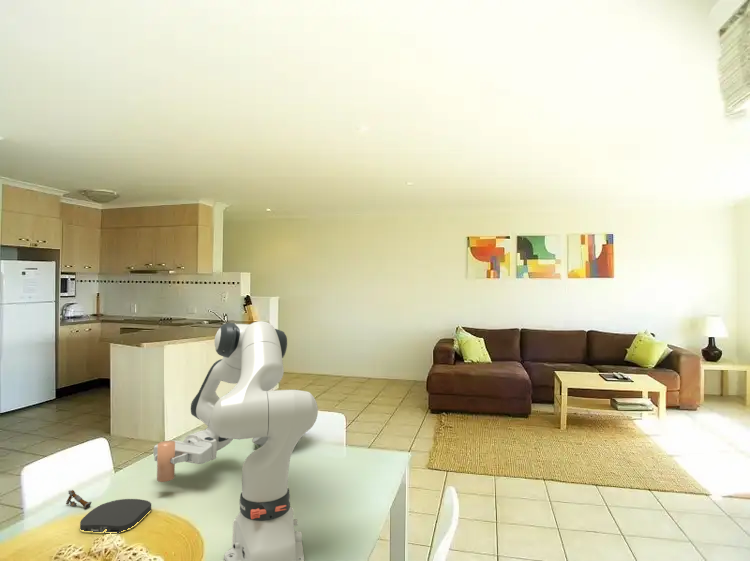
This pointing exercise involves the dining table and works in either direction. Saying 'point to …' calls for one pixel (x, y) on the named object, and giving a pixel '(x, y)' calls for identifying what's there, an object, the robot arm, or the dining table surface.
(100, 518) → the media streaming box
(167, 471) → the salmon orange cylinder
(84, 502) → the brown grey jointed tubes
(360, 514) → the dining table surface
